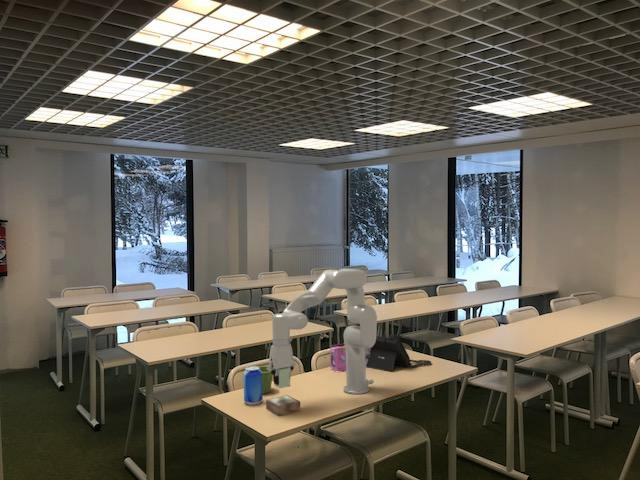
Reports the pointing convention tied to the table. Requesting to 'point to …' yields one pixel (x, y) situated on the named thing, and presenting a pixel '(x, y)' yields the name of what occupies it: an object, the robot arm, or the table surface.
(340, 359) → the gum box
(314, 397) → the table surface
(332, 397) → the table surface
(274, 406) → the base block
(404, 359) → the office phone
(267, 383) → the plant pot
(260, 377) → the beer can
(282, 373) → the green block
